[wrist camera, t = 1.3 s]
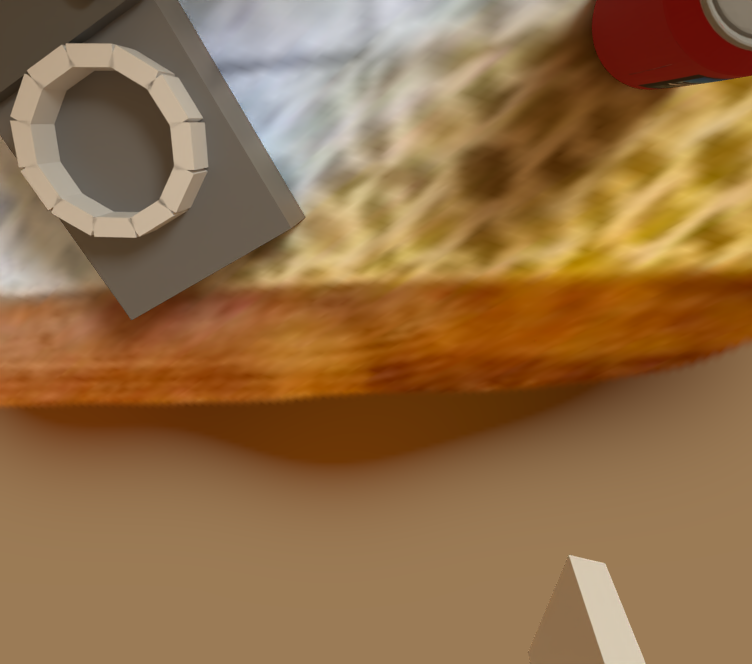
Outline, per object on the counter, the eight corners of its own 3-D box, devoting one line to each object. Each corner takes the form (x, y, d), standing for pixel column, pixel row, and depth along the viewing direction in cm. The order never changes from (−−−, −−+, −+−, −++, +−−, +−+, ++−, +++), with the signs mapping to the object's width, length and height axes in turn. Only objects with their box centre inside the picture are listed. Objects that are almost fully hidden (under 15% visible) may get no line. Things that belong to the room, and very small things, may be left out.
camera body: (-3, 63, 34) (-89, 50, 28) (148, -51, 31) (87, -89, 26) (160, 300, 38) (114, 331, 32) (305, 217, 35) (282, 234, 30)
